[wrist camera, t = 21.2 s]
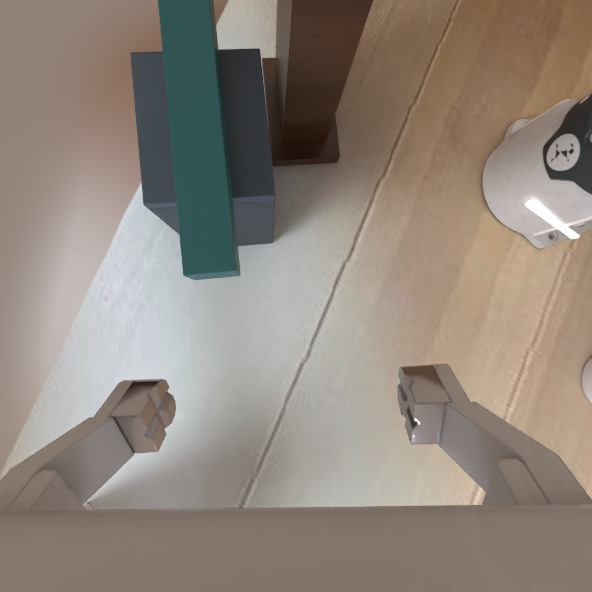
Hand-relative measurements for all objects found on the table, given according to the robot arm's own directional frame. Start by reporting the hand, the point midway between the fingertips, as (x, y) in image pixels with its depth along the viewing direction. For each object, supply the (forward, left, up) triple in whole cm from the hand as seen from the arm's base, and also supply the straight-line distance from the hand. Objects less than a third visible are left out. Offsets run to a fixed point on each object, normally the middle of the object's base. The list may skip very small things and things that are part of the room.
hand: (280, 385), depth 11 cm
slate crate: (+2, -18, -31) cm, 35 cm away
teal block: (+2, -17, -13) cm, 22 cm away
